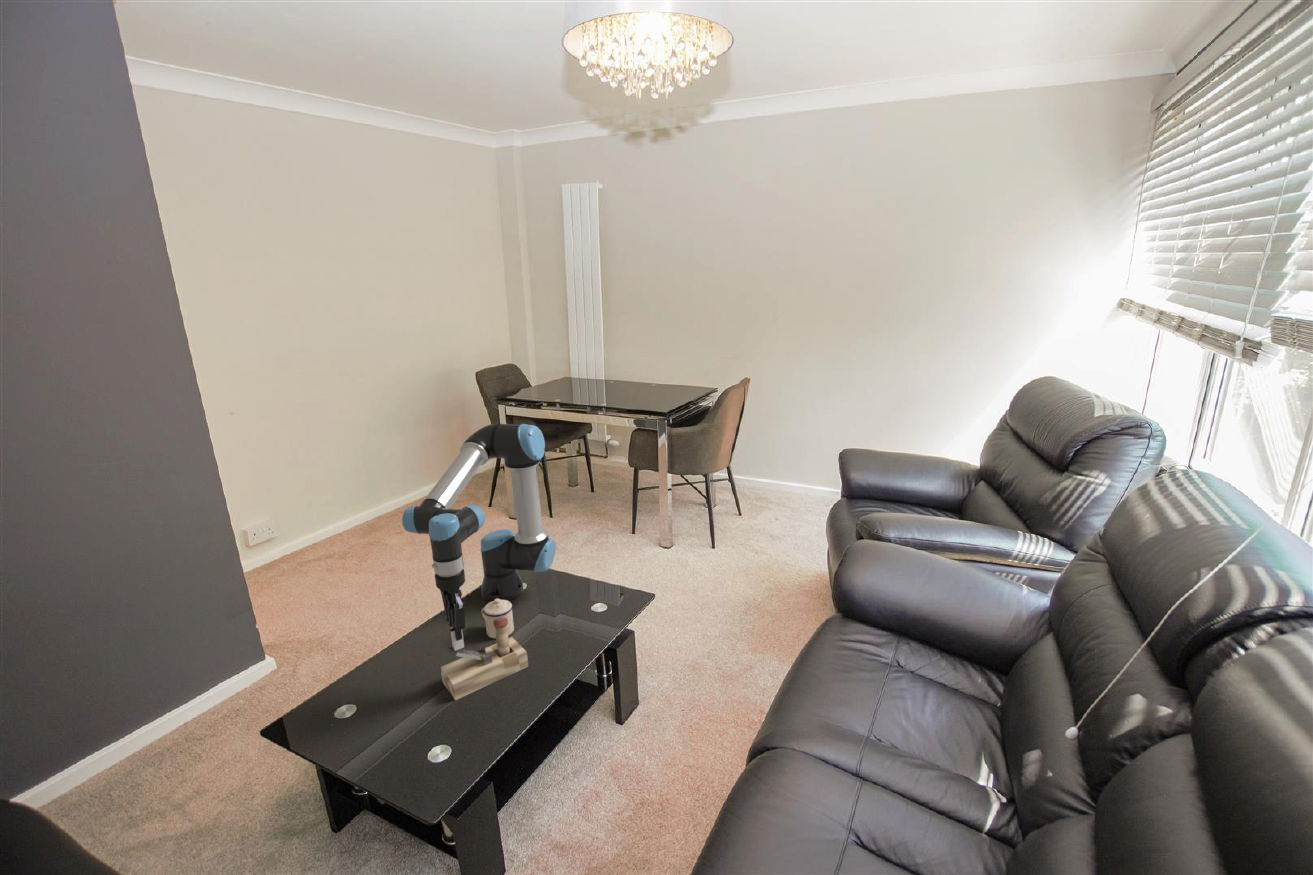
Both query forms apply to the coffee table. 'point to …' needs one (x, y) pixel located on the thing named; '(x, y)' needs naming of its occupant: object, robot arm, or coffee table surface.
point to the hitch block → (482, 669)
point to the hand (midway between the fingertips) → (458, 647)
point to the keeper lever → (466, 653)
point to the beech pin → (502, 636)
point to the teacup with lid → (497, 615)
